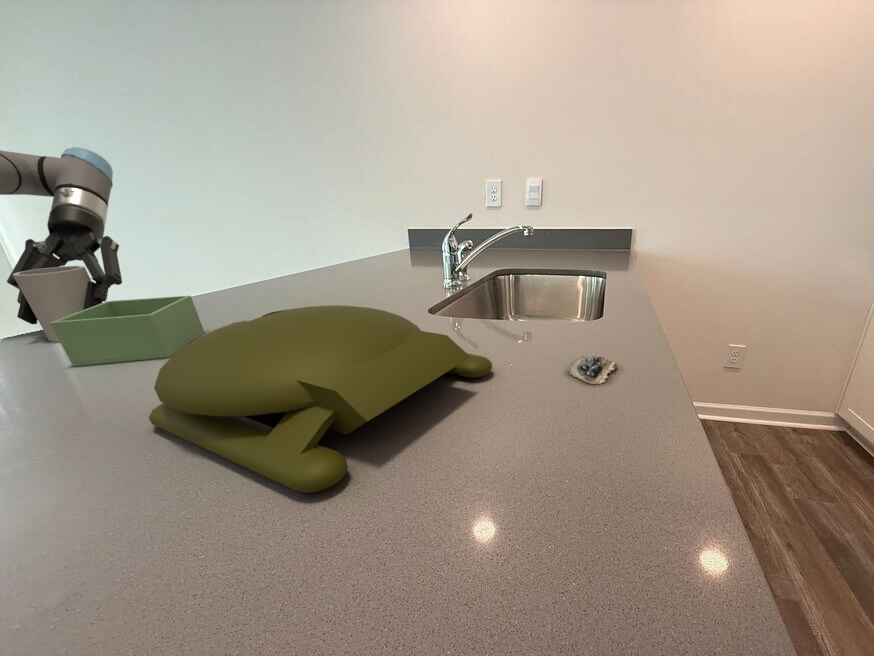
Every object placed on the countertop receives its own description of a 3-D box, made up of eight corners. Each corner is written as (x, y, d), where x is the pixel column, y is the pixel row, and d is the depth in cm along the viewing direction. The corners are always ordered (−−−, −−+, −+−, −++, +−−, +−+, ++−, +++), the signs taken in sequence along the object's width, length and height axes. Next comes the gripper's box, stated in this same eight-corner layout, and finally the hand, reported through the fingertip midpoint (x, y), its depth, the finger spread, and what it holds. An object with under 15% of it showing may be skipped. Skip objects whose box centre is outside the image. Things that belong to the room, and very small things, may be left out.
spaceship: (499, 371, 58) (496, 303, 54) (315, 508, 34) (283, 405, 29) (331, 337, 73) (318, 282, 69) (120, 415, 49) (80, 338, 45)
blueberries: (616, 362, 60) (617, 350, 59) (621, 385, 53) (622, 372, 52) (570, 360, 61) (570, 348, 60) (569, 383, 54) (569, 370, 53)
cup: (110, 334, 78) (80, 270, 72) (43, 345, 73) (5, 277, 68) (115, 323, 84) (88, 264, 79) (54, 332, 79) (20, 270, 74)
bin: (72, 366, 63) (49, 322, 60) (124, 339, 75) (106, 301, 72) (169, 357, 66) (151, 315, 63) (204, 332, 78) (190, 295, 74)
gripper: (-8, 206, 75) (-38, 313, 68) (128, 202, 80) (113, 302, 73) (30, 234, 82) (7, 333, 75) (153, 229, 87) (142, 322, 80)
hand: (59, 318), depth 74 cm, fingers closed on cup, 9 cm apart
